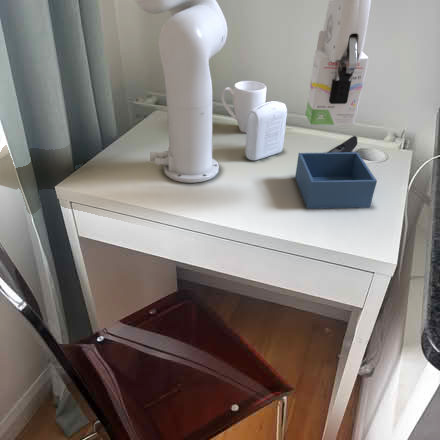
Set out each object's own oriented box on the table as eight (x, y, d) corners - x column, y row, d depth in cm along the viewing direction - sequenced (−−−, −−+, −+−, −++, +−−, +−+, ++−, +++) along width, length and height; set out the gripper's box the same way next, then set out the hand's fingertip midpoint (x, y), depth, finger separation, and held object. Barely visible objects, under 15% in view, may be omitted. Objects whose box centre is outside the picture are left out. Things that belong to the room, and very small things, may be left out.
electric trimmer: (360, 149, 115) (362, 137, 113) (331, 170, 106) (334, 157, 104) (346, 145, 117) (349, 133, 115) (317, 165, 108) (319, 152, 105)
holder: (307, 208, 93) (311, 182, 89) (295, 178, 103) (298, 152, 99) (369, 207, 94) (377, 181, 90) (352, 177, 104) (357, 152, 100)
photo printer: (273, 146, 115) (278, 95, 107) (285, 152, 113) (291, 101, 105) (242, 156, 111) (245, 104, 102) (254, 163, 108) (257, 110, 100)
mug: (267, 127, 124) (271, 83, 117) (256, 138, 119) (259, 93, 111) (227, 119, 128) (228, 76, 120) (215, 130, 122) (215, 85, 115)
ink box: (309, 125, 85) (323, 36, 75) (305, 115, 88) (316, 29, 79) (355, 125, 85) (374, 37, 75) (348, 115, 89) (366, 30, 79)
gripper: (319, -29, 78) (304, 83, 90) (345, -13, 65) (324, 115, 77) (362, -28, 78) (341, 83, 90) (396, -12, 66) (367, 114, 78)
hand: (334, 96), depth 84 cm, fingers closed on ink box, 5 cm apart
